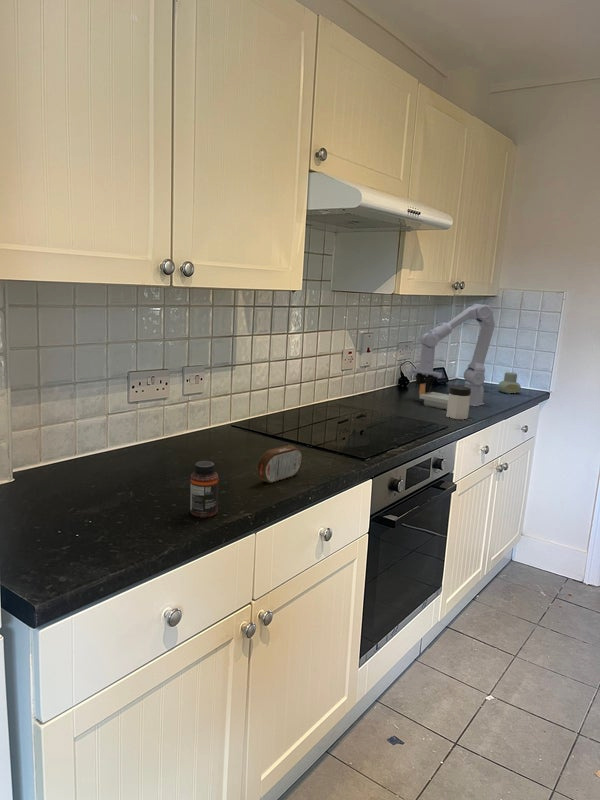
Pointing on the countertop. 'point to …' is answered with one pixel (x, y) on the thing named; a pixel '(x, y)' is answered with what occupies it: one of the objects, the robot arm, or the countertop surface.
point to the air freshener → (509, 383)
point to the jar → (458, 402)
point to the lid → (432, 395)
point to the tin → (279, 463)
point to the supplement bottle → (204, 490)
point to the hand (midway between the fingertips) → (424, 391)
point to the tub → (435, 404)
